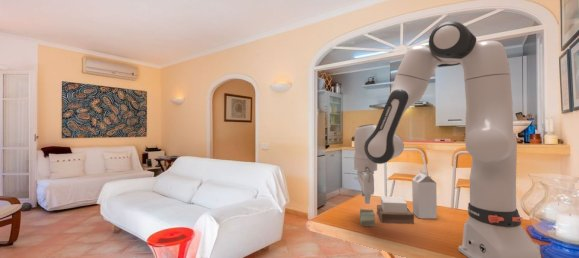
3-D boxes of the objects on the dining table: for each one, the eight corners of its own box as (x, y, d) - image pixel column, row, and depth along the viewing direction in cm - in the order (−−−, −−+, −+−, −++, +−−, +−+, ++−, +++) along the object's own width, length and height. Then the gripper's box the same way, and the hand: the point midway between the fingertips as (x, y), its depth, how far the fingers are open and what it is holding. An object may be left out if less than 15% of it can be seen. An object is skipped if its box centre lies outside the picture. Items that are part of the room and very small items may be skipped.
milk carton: (429, 213, 114) (428, 170, 114) (437, 219, 107) (436, 173, 107) (412, 213, 115) (411, 170, 115) (418, 218, 108) (418, 173, 107)
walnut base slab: (414, 225, 103) (413, 215, 103) (382, 224, 105) (382, 214, 105) (405, 214, 115) (405, 205, 115) (377, 213, 117) (376, 204, 117)
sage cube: (374, 226, 101) (374, 213, 101) (361, 226, 102) (361, 213, 102) (372, 221, 106) (372, 209, 106) (360, 221, 107) (359, 209, 107)
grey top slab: (407, 213, 105) (407, 203, 105) (383, 212, 107) (383, 202, 107) (402, 206, 114) (402, 197, 114) (380, 205, 116) (380, 196, 116)
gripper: (378, 170, 93) (378, 208, 93) (370, 161, 113) (369, 192, 114) (360, 169, 94) (360, 207, 94) (355, 161, 114) (355, 192, 115)
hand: (365, 199), depth 104 cm, fingers open, 8 cm apart
